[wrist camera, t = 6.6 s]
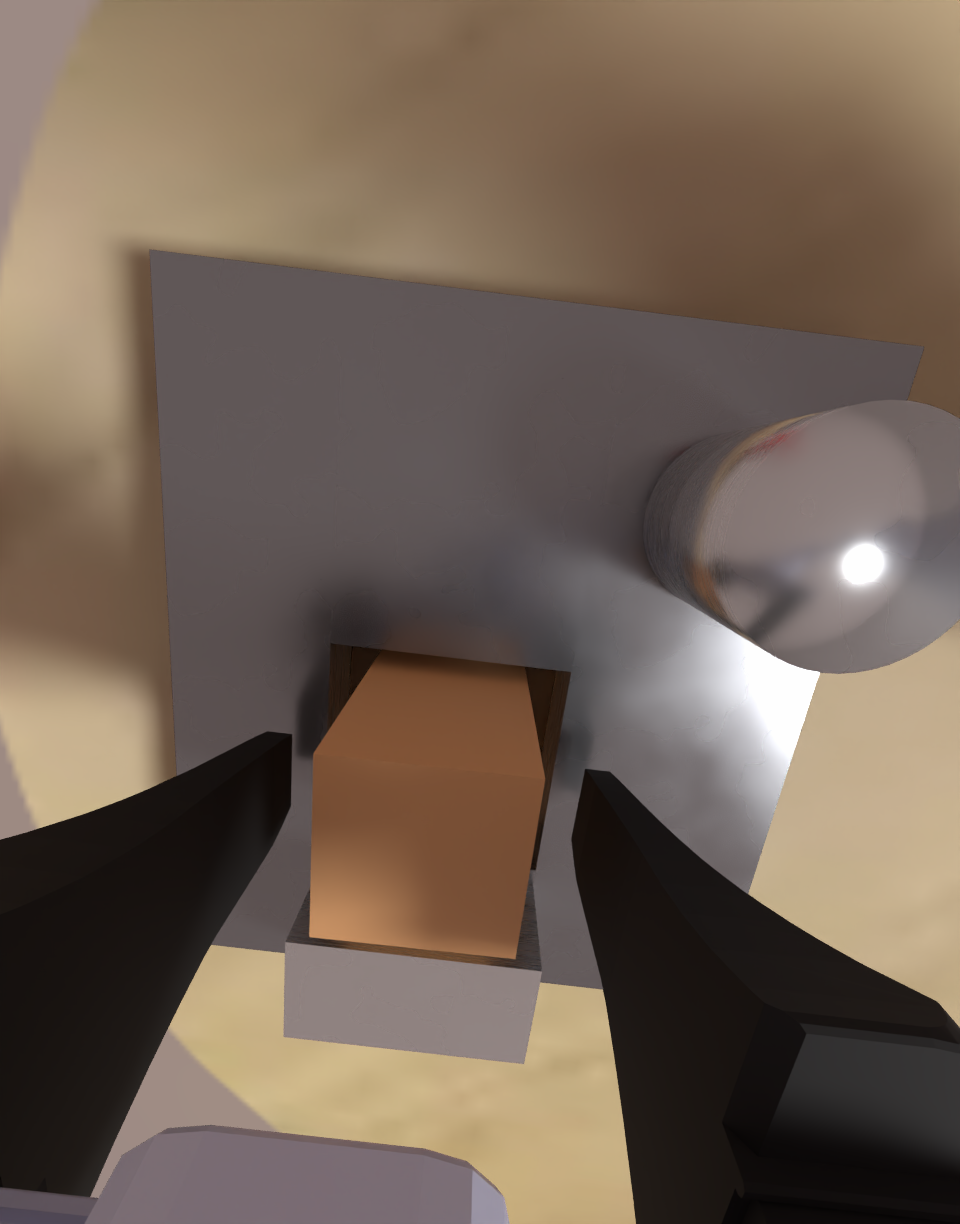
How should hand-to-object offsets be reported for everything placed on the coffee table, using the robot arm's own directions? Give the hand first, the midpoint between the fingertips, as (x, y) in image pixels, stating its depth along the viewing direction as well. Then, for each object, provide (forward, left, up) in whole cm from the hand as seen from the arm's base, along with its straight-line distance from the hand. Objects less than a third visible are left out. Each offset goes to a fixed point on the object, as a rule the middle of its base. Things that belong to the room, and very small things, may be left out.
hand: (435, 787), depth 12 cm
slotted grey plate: (-1, -2, -3) cm, 4 cm away
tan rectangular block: (0, 0, -3) cm, 3 cm away
